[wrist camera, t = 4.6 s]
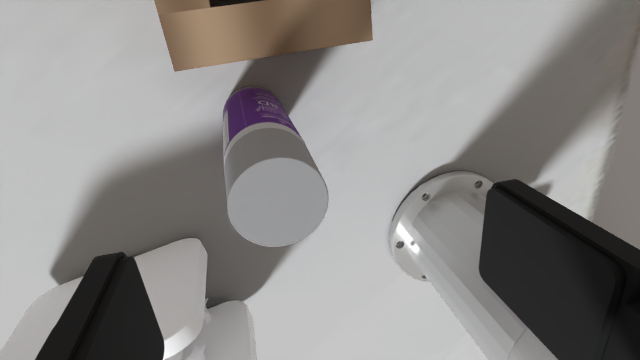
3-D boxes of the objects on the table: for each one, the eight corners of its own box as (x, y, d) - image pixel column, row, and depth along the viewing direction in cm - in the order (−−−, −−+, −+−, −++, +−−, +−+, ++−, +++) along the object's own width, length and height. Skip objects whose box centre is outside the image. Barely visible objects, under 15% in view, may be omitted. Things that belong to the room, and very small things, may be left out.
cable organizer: (210, 222, 33) (205, 321, 22) (253, 306, 37) (265, 418, 27) (38, 286, 31) (-51, 422, 21) (106, 364, 36) (61, 506, 26)
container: (281, 84, 29) (331, 149, 16) (284, 141, 31) (331, 242, 18) (219, 87, 28) (217, 159, 15) (226, 146, 30) (230, 256, 17)
